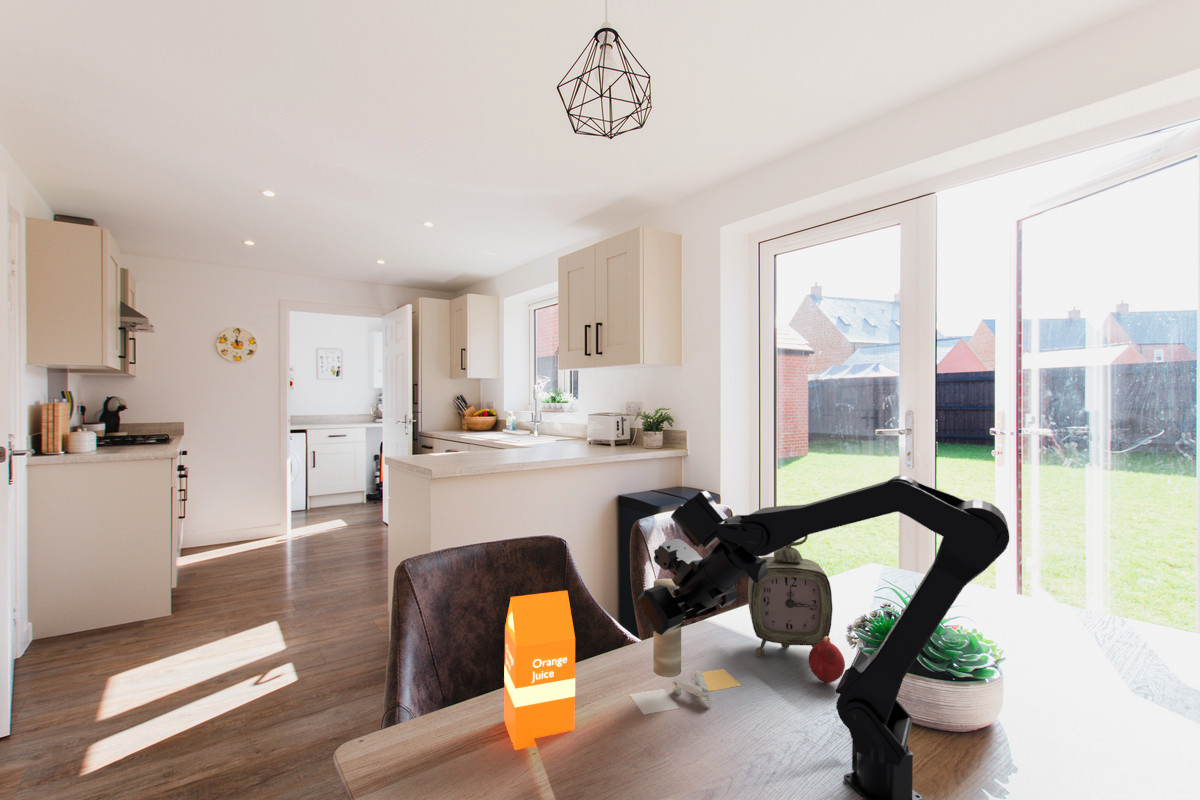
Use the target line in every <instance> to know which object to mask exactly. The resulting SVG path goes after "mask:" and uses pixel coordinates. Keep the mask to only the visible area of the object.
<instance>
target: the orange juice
mask: <svg viewBox="0 0 1200 800" xmlns="http://www.w3.org/2000/svg"><path fill="white" fill-rule="evenodd" d="M568 592H569V591H568V590H559V591H553V592H552V591H551V592H550V591H549V592H543V593H542V592H541V593H536V594H535V593H533V594H526V595H517V596H510V601H509V606H508V609H507V610H508V611H507V615H506V622H505V625H504V671H503V672H504V676H503V677H504V678H503V680H504V681H503V682H504V698H503V699H504V701H503V702H504V706H503V707H504V708H503V709H504V710H503V711H504V712H503V713H504V714H503V715H504V719H503V720H504V724H505V726H506V729H507V733H508V735H509V737H510V741H511V744H512V743H513V744H512V747H513V746H514V747H513V749H515V750H514V751H517V750H518V751H519V750H522V749H523V748H524V749H527V747H528V748H532V746H533V747H535V746H536V747H537V746H538V745H537V743H536V740H535V739H538V738H542V737H543V738H544V737H548V736H553V735H557V734H562V733H566V732H571V731H574V730H575V716H576V715H575V710H576V709H575V708H576V707H575V706H576V705H575V704H576V701H575V700H576V636H575V629H574V624H573V617H572V611H571V605H570V599H569V593H568ZM516 749H517V750H516Z"/></svg>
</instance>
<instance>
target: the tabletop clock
mask: <svg viewBox="0 0 1200 800" xmlns="http://www.w3.org/2000/svg"><path fill="white" fill-rule="evenodd" d="M808 537H809V536H808V535H807V536H805V537H803V538H804V539H802V540H800V541H799V540H798V541H795V542H793V543H791V544H789V545H787V546H785V547H783V548H781V549H779V550H777V551H775V553H774V555H773V556H760V558H762V559H766V560H767V564H766V565H767V569H768V575H767V576H766V577H765V578H764V579H762V580H761V581H760V582H759V583H754V581H753V580H752V579H751V578H750V577H749V576H748V583H747V600H748V609H749V614H750V618H751V623H752V627H753V631H754V633H755V635H756V637H757V638H759V639H760V640H761V644H760V646H758V647H757V648H756V649H755V655H757V656H758V657H763V656H764V655H765V650H764V647H765V646H766V643H767V642H768V643H774V644H775V643H776V644H781V645H780V646H781V648H783V649H789V648H790V646H811V649H812V648H813V647H814V646H815V645H816V644H818V643H820V642H822V641H823V639H824V637H826V636H827V637H829V635H830V633H831V629H832V619H833V596H832V589H831V584H830V581H829V578H828V576H827V574H826V573H825V571H824V570H823V569H822V567H821V565H820V564H819V563H818V562H815V561H814V560H812V559H807V558H803V557H802V555H801V553H800V551H799V549H797V548H795V547H797V546H801V545H803V544H804V543H806V541H807V540H808Z"/></svg>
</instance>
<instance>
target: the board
mask: <svg viewBox="0 0 1200 800" xmlns="http://www.w3.org/2000/svg"><path fill="white" fill-rule="evenodd" d="M694 674H695V673H692V676H694ZM702 674H703V676H704V679H705V682H706V684H707V687H708V690H709V691H710V692H714V691H719V690H727V689H730V688H731V689H732V688H736V687H741V686H742V684H741V683H740V682H738V680H737V679H735V678H734V676H732V675H731V674H729V672H727V670H725V669H724V668H720V669H714V670H709V671H702ZM628 695H629V697H630V698H631V699H632V701H633V702H634V704H635V705H636V706H637V708H638V709H639V710H640V712H641V713H642V715H643V716H646V715H650V714H656V713H660V712H661V713H662V712H666V711H671V710H676V709H680V706H679V705H678V703H676V702H675V700H673V698H672V697H671V696H670V694H669V693H668V692H667V691H666V690H665V689H664V688H660V689H658V688H657V689H654V690H647V691H641V692H635V693H630V694H628Z"/></svg>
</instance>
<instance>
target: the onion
mask: <svg viewBox="0 0 1200 800" xmlns="http://www.w3.org/2000/svg"><path fill="white" fill-rule="evenodd" d="M807 661H808V666H809V669H810V671H811V672H812V674H813V675H814V676H815V678H817V679H818V680H819V681H821V682H822V683H823V684H825V685H829V684H830V683H831V684H832V683H834V682H836V681H837V680H838V679H841V678H842V676H843V674H844V672H845V666H846V664H845V658H844V656H843V653H842V652H841V650H840V649H839V648H838V647H837V646H836V645H835V644H833V642H832V641H831V637H829V636H828V637H827V636H826V637H824V639H823V641H822V642H820V643H818V644H816V645H815V646H814V647H813V648H812V647H811V650H809V653H808V659H807Z"/></svg>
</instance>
